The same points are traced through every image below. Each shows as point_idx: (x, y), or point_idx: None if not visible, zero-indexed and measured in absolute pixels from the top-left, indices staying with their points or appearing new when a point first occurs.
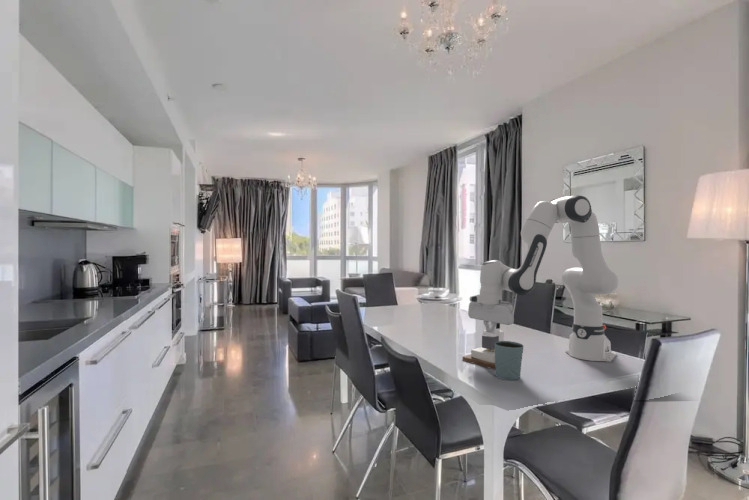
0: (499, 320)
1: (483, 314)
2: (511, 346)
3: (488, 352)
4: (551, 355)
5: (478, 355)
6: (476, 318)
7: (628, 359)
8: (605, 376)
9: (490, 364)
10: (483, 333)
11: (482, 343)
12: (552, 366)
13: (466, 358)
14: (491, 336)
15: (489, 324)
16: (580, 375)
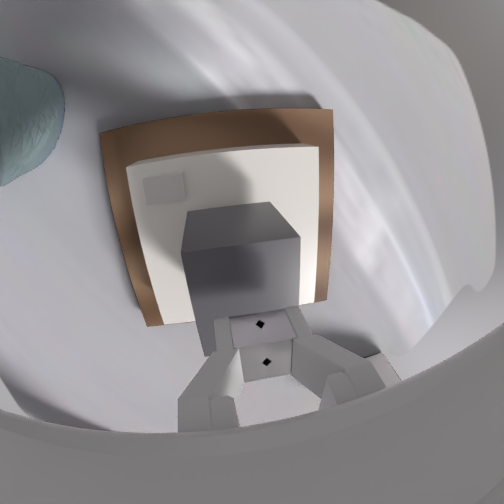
0: (40, 460)
1: (437, 472)
2: None
3: (179, 173)
4: (175, 426)
5: (250, 147)
6: (484, 344)
7: None
8: (2, 373)
9: (129, 126)
10: (400, 381)
11: (272, 211)
12: (75, 362)
13: (303, 108)
14: (216, 291)
15: None
16: (3, 344)
